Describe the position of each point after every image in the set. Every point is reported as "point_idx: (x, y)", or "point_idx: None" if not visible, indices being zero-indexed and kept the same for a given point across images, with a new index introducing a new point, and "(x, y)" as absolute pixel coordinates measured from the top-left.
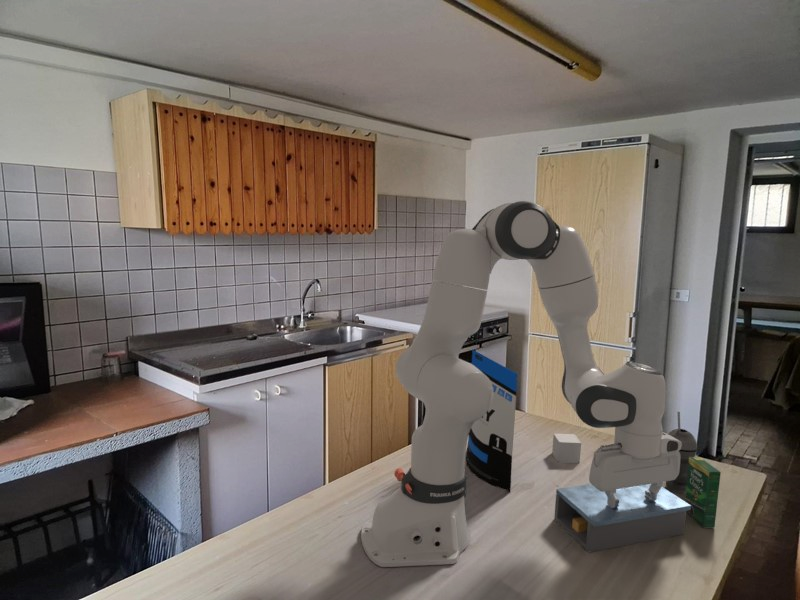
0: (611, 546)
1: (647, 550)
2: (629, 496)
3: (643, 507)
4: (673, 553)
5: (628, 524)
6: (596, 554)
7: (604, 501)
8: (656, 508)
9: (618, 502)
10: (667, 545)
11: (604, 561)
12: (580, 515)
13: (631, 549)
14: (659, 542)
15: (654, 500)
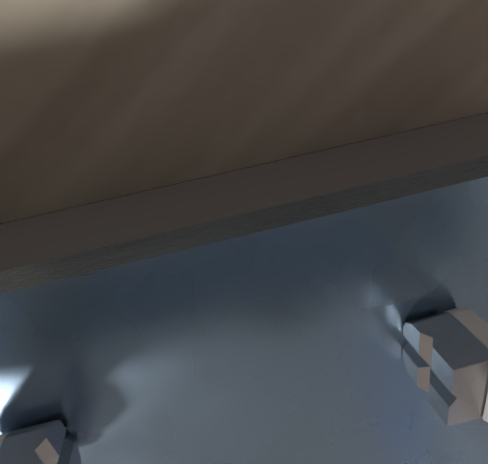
0: (373, 141)
1: (183, 108)
2: (205, 460)
3: (172, 334)
4: (24, 67)
5: None
6: (473, 91)
7: None
8: (38, 328)
9: (444, 349)
10: (30, 150)
11: (477, 27)
12: None
13: (270, 123)
14: (69, 179)
15: (6, 434)
